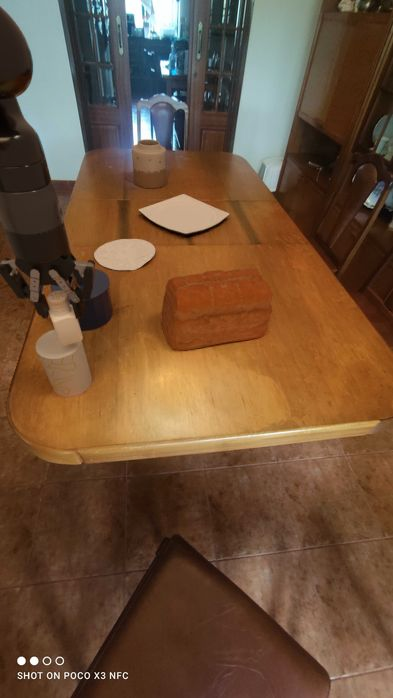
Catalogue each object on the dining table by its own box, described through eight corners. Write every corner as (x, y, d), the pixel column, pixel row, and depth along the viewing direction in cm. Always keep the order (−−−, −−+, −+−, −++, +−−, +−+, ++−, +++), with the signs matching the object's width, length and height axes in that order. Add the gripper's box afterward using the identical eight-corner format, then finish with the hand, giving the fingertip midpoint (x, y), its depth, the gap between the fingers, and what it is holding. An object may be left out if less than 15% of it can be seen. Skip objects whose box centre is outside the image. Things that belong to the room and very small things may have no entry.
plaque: (167, 251, 108) (167, 247, 107) (127, 278, 96) (127, 274, 95) (123, 235, 116) (123, 231, 115) (81, 259, 104) (80, 255, 103)
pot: (67, 336, 78) (57, 305, 71) (58, 305, 86) (49, 275, 79) (118, 323, 82) (113, 293, 75) (105, 295, 90) (100, 266, 83)
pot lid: (56, 309, 71) (49, 289, 67) (47, 276, 79) (40, 256, 75) (116, 296, 76) (114, 276, 72) (102, 266, 84) (99, 247, 80)
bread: (270, 338, 82) (286, 290, 71) (170, 354, 76) (171, 305, 65) (249, 304, 91) (261, 258, 81) (158, 317, 85) (157, 268, 74)
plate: (133, 216, 126) (132, 209, 124) (183, 198, 141) (183, 192, 139) (185, 243, 114) (185, 236, 112) (233, 220, 129) (234, 214, 127)
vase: (170, 180, 155) (170, 140, 143) (159, 191, 145) (159, 149, 133) (141, 175, 158) (139, 135, 146) (128, 185, 147) (125, 144, 135)
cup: (44, 392, 66) (26, 353, 58) (65, 363, 72) (50, 324, 63) (80, 401, 65) (67, 363, 57) (98, 371, 71) (88, 333, 62)
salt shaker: (84, 341, 58) (72, 299, 51) (61, 348, 56) (46, 306, 49) (78, 327, 60) (66, 286, 53) (56, 334, 59) (41, 292, 52)
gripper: (-38, 229, 39) (12, 330, 51) (82, 233, 40) (102, 331, 52) (-14, 204, 44) (26, 301, 56) (92, 208, 45) (108, 302, 58)
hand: (63, 315), depth 54 cm, fingers closed on salt shaker, 5 cm apart
